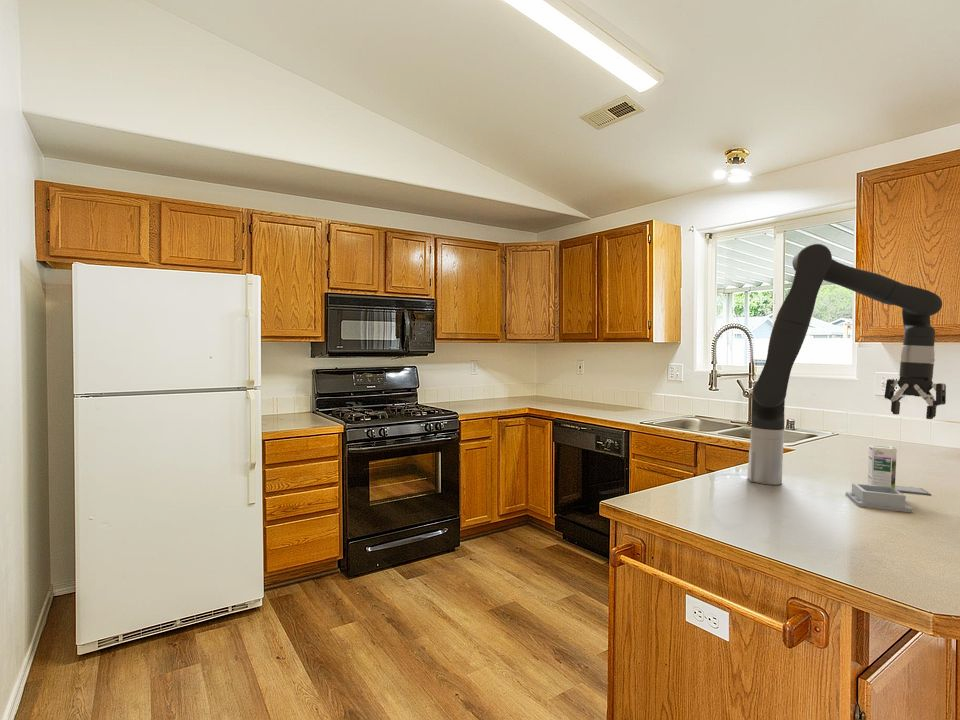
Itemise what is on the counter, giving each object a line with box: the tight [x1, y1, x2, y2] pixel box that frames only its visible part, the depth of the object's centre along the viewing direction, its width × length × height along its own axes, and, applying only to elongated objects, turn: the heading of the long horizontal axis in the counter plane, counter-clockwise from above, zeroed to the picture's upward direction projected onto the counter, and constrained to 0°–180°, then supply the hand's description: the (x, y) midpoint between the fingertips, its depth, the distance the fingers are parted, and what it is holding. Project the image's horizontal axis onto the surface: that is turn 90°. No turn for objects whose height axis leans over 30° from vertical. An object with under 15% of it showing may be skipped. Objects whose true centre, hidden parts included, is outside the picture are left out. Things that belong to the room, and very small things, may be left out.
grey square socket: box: [845, 482, 913, 513], centre depth 147 cm, size 12×12×4 cm
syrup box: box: [867, 444, 898, 488], centre depth 156 cm, size 6×6×14 cm
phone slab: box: [895, 485, 932, 496], centre depth 163 cm, size 7×13×1 cm, turn 69°
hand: (912, 416), depth 155 cm, fingers open, 8 cm apart
